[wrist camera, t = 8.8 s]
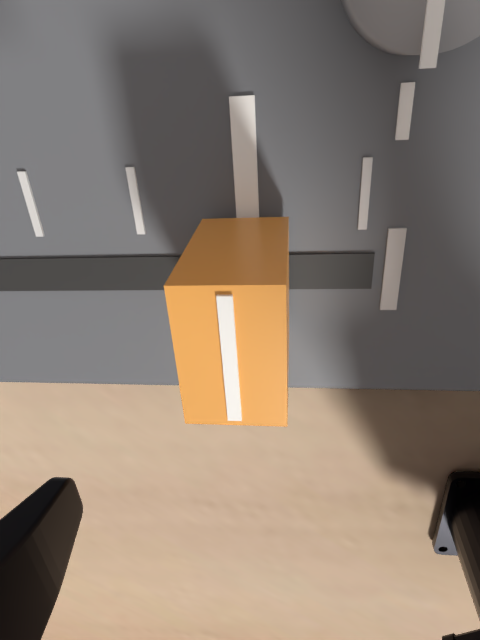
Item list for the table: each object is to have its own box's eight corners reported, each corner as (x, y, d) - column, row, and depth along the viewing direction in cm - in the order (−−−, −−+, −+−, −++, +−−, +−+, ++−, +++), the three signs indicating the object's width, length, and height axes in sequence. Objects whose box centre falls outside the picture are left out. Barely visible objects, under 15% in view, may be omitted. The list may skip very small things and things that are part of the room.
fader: (289, 329, 18) (287, 428, 13) (213, 329, 18) (184, 425, 13) (288, 216, 15) (286, 286, 11) (202, 218, 16) (162, 287, 11)
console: (480, 363, 20) (519, 427, 17) (-47, 356, 23) (-108, 409, 20) (626, -218, 11) (777, -343, 8) (-256, -105, 15) (-434, -158, 11)
